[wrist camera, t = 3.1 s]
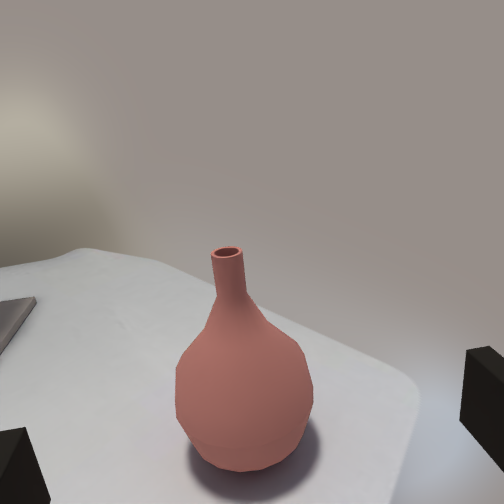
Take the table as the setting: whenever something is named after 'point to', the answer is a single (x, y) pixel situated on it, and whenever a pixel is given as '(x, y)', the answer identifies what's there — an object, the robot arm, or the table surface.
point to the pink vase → (242, 380)
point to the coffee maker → (13, 317)
